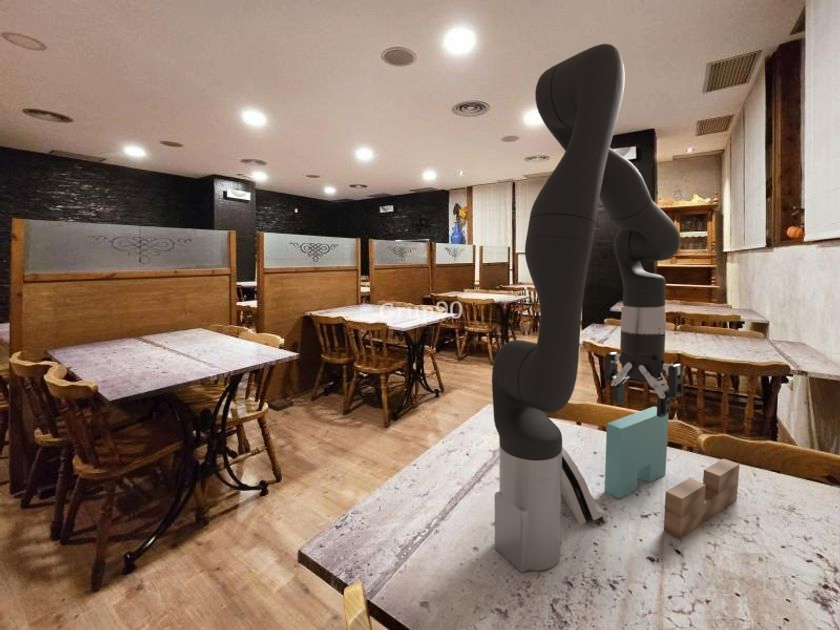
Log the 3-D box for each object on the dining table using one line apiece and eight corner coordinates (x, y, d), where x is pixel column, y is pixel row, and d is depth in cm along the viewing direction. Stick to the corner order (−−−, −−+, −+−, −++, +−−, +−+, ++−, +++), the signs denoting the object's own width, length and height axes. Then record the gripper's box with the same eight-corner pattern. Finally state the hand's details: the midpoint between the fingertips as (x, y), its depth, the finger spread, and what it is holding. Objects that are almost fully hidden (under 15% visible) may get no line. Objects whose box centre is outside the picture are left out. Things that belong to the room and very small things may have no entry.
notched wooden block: (679, 539, 63) (681, 498, 63) (663, 530, 66) (665, 491, 65) (736, 499, 73) (739, 464, 73) (721, 492, 76) (723, 458, 75)
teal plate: (618, 499, 75) (621, 428, 73) (604, 491, 77) (606, 423, 75) (665, 474, 82) (668, 410, 81) (651, 468, 85) (654, 406, 83)
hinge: (609, 524, 68) (590, 472, 67) (582, 532, 68) (563, 482, 67) (573, 473, 84) (558, 431, 83) (552, 480, 85) (537, 439, 83)
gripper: (597, 326, 80) (595, 403, 82) (670, 336, 68) (666, 426, 70) (619, 322, 84) (617, 395, 86) (693, 331, 71) (688, 416, 74)
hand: (639, 409), depth 78 cm, fingers open, 8 cm apart
